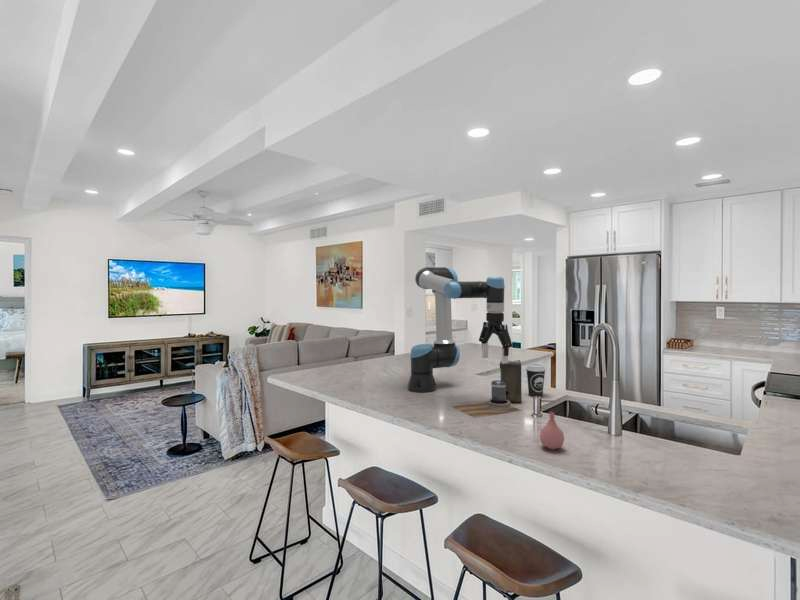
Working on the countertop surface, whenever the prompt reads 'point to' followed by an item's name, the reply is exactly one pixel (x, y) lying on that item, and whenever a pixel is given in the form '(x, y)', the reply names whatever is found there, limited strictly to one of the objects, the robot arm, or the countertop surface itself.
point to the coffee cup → (535, 379)
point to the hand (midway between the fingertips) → (494, 360)
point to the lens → (498, 392)
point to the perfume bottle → (552, 434)
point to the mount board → (486, 408)
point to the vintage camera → (512, 380)
